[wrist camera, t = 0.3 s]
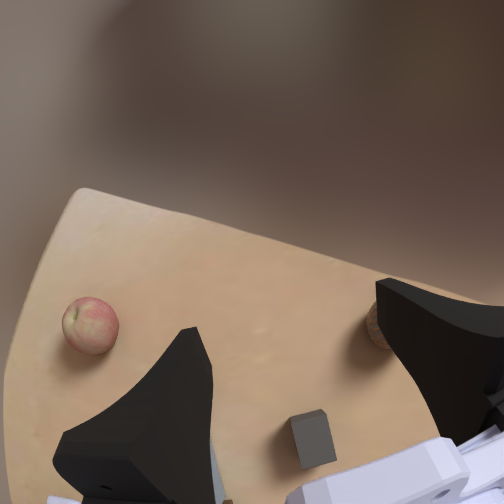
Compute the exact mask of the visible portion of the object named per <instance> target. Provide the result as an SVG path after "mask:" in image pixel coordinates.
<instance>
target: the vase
mask: <svg viewBox="0 0 504 504" xmlns="http://www.w3.org/2000/svg"><path fill="white" fill-rule="evenodd" d="M366 325H367V331H368V334H369V336H370V338H371V339H372V340H373V342H374V343H376V344H377V345H378V346H380V347H382V348H385V349H391V347H390V346H389V344H388V343H387V341H386V339H385V338H384V336H383V334H382V332H381V330H380V328H379V326H378V324H377V302H375V303H374V304H373V305H372V307H371V308H370V310H369V312H368V315H367V321H366Z"/></svg>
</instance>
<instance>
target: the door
mask: <svg viewBox="0 0 504 504" xmlns="http://www.w3.org/2000/svg"><path fill="white" fill-rule="evenodd" d="M210 452H211V466H212V476H213V485H214V493H215V501H216V504H222V503H223V501H224V499H225V497H226V496H225V492H224V489H223V485H222V482H221V478H220V474H219V471H218V467H217V463H216V459H215V456H214V452H213V448H212V444H211V440H210Z"/></svg>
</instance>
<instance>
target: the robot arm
mask: <svg viewBox="0 0 504 504" xmlns="http://www.w3.org/2000/svg"><path fill="white" fill-rule="evenodd" d="M376 302H377V324H378V326H379V328H380V330H381V332H382V334H383V336H384V338H385V339H386V341H387V343H388V344H389V346H390V347H391V349H392V350H393V351H394V353H395V354H396V356H397V357H398V358H399V360H400V361H401V362H402V364H403V365H404V367H405V368H406V369H407V371H408V372H409V374H410V375H411V376H412V378H413V379H414V381H415V383H416V384H417V386H418V388H419V390H420V392H421V394H422V395H423V397H424V399H425V401H426V403H427V406H428V408H429V410H430V412H431V414H432V416H433V419H434V421H435V423H436V426H437V428H438V431H439V433H440V436H441V437H435V438H432V439H429V440H426V441H423V442H420V443H418V444H416V445H413V446H411V447H409V448H406V449H404V450H401V451H399V452H396V453H394V454H391V455H389V456H386V457H383V458H381V459H378V460H375V461H372V462H369V463H367V464H364V465H361V466H357V467H354V468H351V469H348V470H345V471H341V472H338V473H334V474H331V475H327V476H324V477H321V478H318V479H316V480H313V481H310V482H307V483H304V484H303V485H301V486H300V487H298V488H297V489H295V490H294V491H292V492H291V493H290V494H289V495H288V496H287V498H286V501H285V504H504V307H503V306H490V305H481V304H474V303H468V302H464V301H459V300H455V299H451V298H447V297H444V296H441V295H437V294H434V293H431V292H429V291H426V290H423V289H420V288H418V287H415V286H412V285H410V284H407V283H404V282H401V281H399V280H396V279H392V278H386V279H383V280H379V281H376ZM212 398H213V375H212V365H211V363H210V360H209V358H208V355H207V353H206V350H205V348H204V345H203V343H202V340H201V337H200V335H199V332H198V330H197V327H192V328H187V329H182V330H181V331H180V332H179V333H178V335H177V336H176V337H175V339H174V340H173V341H172V343H171V344H170V345H169V347H168V348H167V349H166V351H165V352H164V353H163V355H162V356H161V357H160V358H159V360H158V361H157V362H156V363H155V364H154V366H153V367H152V368H151V369H150V370H149V371H148V373H147V374H146V375H145V376H144V377H143V378H142V379H141V380H140V381H139V382H138V383H137V384H136V385H135V386H134V387H133V388H132V389H131V390H130V391H129V392H128V393H126V394H125V395H124V396H123V397H121V398H120V399H119V400H118V401H116V402H115V403H114V404H112V405H111V406H110V407H108V408H107V409H106V410H104V411H103V412H101V413H100V414H98V415H96V416H95V417H93V418H91V419H90V420H88V421H86V422H84V423H82V424H80V425H78V426H76V427H74V428H72V429H70V430H68V431H65V432H63V435H62V437H61V440H60V442H59V444H58V447H57V449H56V452H55V454H54V457H53V465H54V467H55V469H56V471H57V472H58V473H59V474H60V476H61V477H62V478H63V479H65V480H66V481H67V482H68V483H69V484H70V485H71V486H72V487H74V488H75V489H76V490H77V491H78V492H80V493H81V494H82V495H83V496H84V497H83V501H82V503H80V502H78V501H76V500H73V499H68V498H63V497H58V496H53V495H49V497H48V500H47V503H46V504H216V501H215V493H214V485H213V476H212V466H211V452H210V425H211V411H212Z"/></svg>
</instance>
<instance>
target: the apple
mask: <svg viewBox="0 0 504 504" xmlns="http://www.w3.org/2000/svg"><path fill="white" fill-rule="evenodd" d="M62 329H63V333H64V336H65V338H66V340H67V341H68V343H69V344H70V345H71V346H72V347H73V348H74V349H76V350H77V351H79V352H81V353H84V354H88V355H97V354H101V353H104V352H106V351H108V350H109V349H111V348H112V347H113V346H114V344H115V341H116V339H117V336H118V330H119V321H118V318H117V316H116V313H115V311H114V310H113V309H112V307H111V306H110V305H109V304H107V303H106V302H104V301H102V300H100V299H97V298H92V297H84V298H80V299H77V300H75V301H74V302H73V303H71V304H70V305H69V306H68V308H67V309H66V311H65V313H64V315H63V318H62Z"/></svg>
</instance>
